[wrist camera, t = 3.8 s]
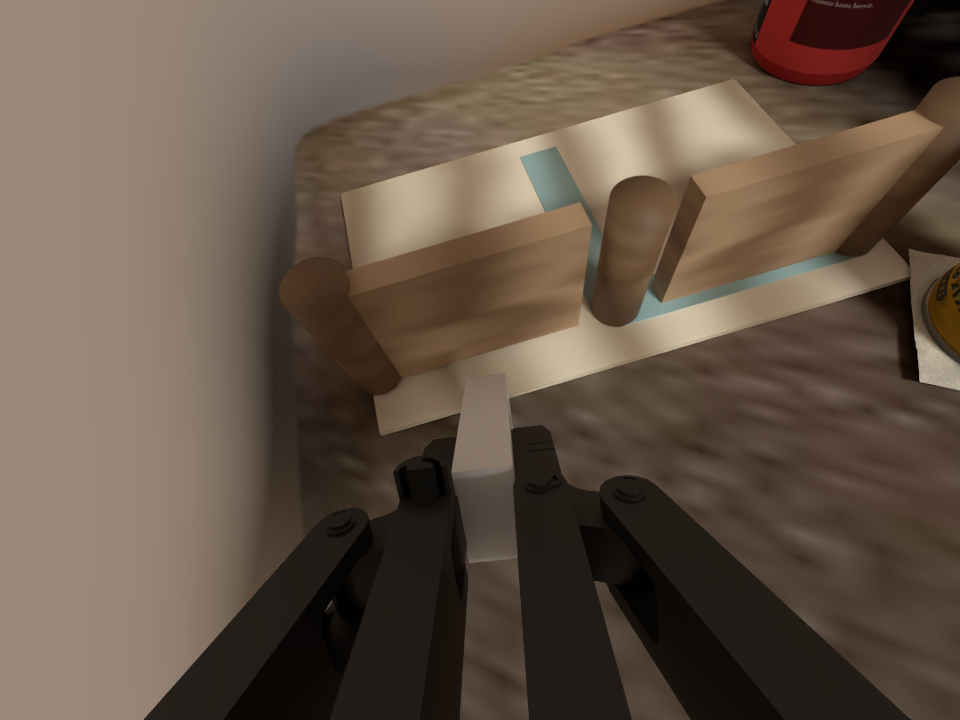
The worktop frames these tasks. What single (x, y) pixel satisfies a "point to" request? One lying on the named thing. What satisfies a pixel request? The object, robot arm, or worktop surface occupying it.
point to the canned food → (823, 37)
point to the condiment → (936, 317)
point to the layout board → (594, 240)
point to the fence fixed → (773, 208)
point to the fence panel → (444, 298)
